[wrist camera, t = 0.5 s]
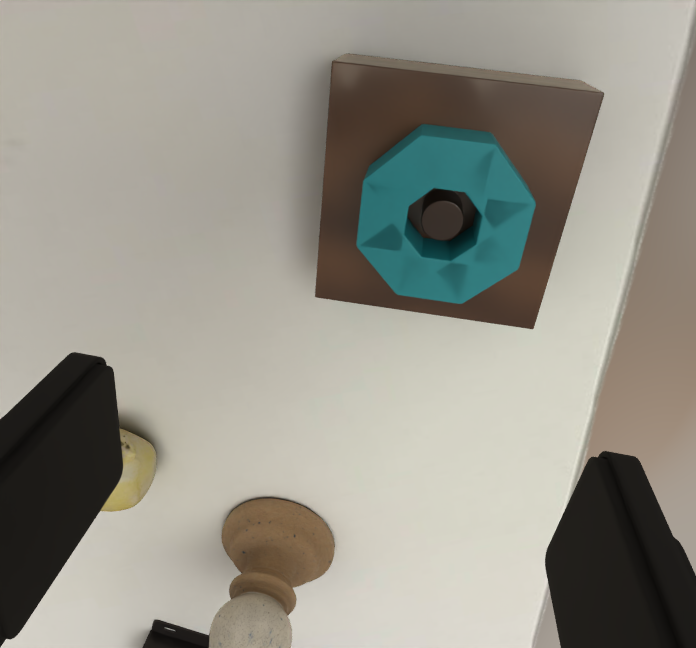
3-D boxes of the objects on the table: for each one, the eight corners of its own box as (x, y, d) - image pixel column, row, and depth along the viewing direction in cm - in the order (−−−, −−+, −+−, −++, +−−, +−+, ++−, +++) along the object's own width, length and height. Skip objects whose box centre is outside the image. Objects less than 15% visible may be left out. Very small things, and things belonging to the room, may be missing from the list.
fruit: (67, 475, 44) (78, 396, 38) (147, 485, 46) (169, 412, 40) (44, 547, 40) (52, 472, 34) (134, 555, 42) (156, 486, 36)
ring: (374, 117, 24) (368, 128, 22) (540, 138, 24) (550, 151, 22) (357, 267, 28) (351, 288, 26) (502, 288, 27) (507, 311, 25)
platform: (345, 53, 27) (324, 64, 22) (582, 80, 26) (617, 99, 21) (327, 265, 32) (307, 314, 27) (522, 293, 31) (539, 349, 26)
